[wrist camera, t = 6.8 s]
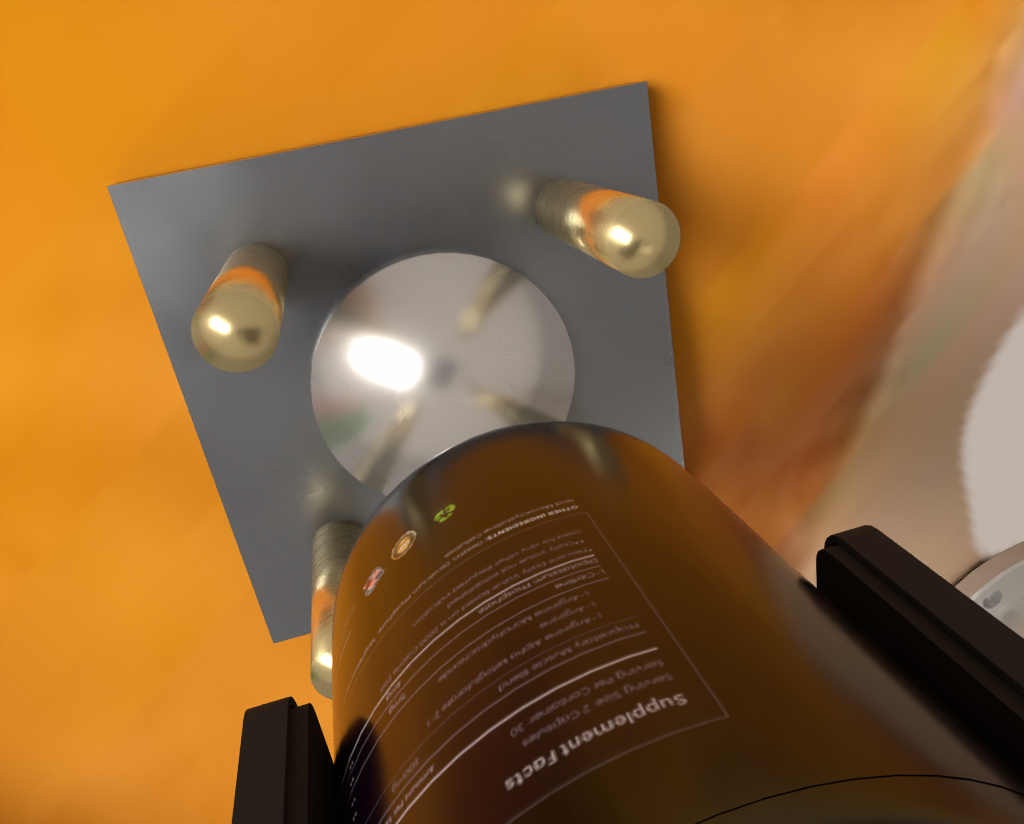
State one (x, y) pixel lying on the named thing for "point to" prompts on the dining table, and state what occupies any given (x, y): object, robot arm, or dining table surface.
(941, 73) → the dining table surface
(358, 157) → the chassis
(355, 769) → the supplement bottle
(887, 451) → the dining table surface
